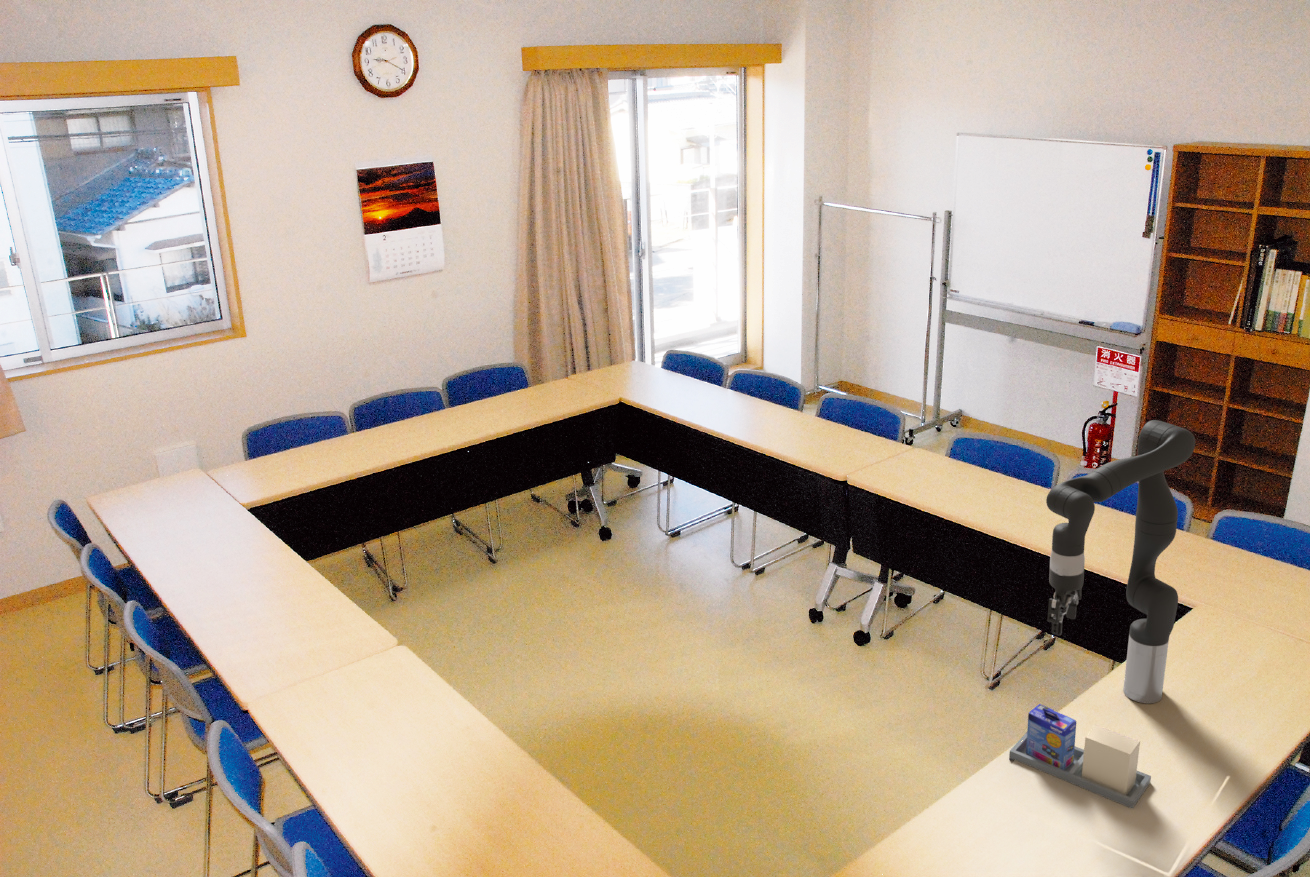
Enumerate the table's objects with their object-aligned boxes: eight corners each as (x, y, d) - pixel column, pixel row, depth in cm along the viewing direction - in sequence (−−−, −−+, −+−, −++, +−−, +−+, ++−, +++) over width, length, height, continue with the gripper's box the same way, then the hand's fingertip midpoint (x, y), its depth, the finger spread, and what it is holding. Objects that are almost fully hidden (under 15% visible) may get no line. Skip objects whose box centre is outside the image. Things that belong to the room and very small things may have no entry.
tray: (1029, 736, 260) (1029, 728, 259) (1150, 784, 241) (1151, 775, 240) (1009, 759, 253) (1009, 750, 252) (1132, 810, 234) (1133, 801, 233)
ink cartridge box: (1024, 754, 253) (1027, 704, 248) (1036, 743, 257) (1040, 694, 252) (1061, 773, 246) (1066, 721, 241) (1074, 762, 249) (1078, 711, 244)
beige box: (1091, 766, 248) (1095, 724, 243) (1135, 783, 241) (1140, 740, 237) (1081, 779, 244) (1085, 737, 239) (1125, 797, 237) (1130, 754, 233)
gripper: (1063, 550, 252) (1060, 608, 258) (1038, 575, 242) (1035, 635, 248) (1094, 558, 247) (1090, 617, 253) (1070, 583, 237) (1067, 644, 243)
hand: (1063, 626), depth 251 cm, fingers open, 8 cm apart
